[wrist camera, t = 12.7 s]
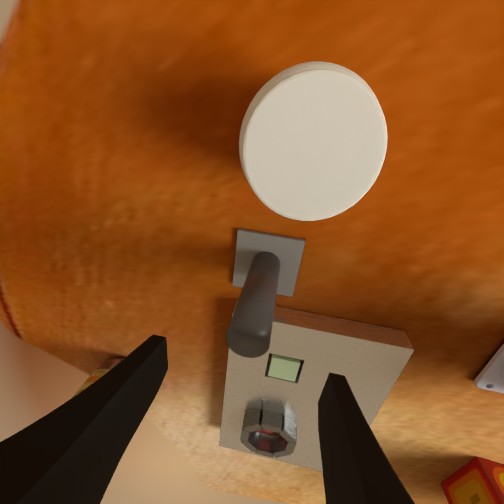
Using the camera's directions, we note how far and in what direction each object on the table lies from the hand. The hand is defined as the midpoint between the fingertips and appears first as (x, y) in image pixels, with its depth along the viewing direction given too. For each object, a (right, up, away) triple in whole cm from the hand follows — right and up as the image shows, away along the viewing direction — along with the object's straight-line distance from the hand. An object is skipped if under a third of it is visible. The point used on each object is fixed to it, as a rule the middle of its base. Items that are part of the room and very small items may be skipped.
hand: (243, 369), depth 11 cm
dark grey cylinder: (+1, +4, +8) cm, 10 cm away
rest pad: (+2, +4, +9) cm, 10 cm away
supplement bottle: (+4, +12, +5) cm, 14 cm away
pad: (+3, -4, +12) cm, 13 cm away
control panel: (+5, -9, +15) cm, 18 cm away
